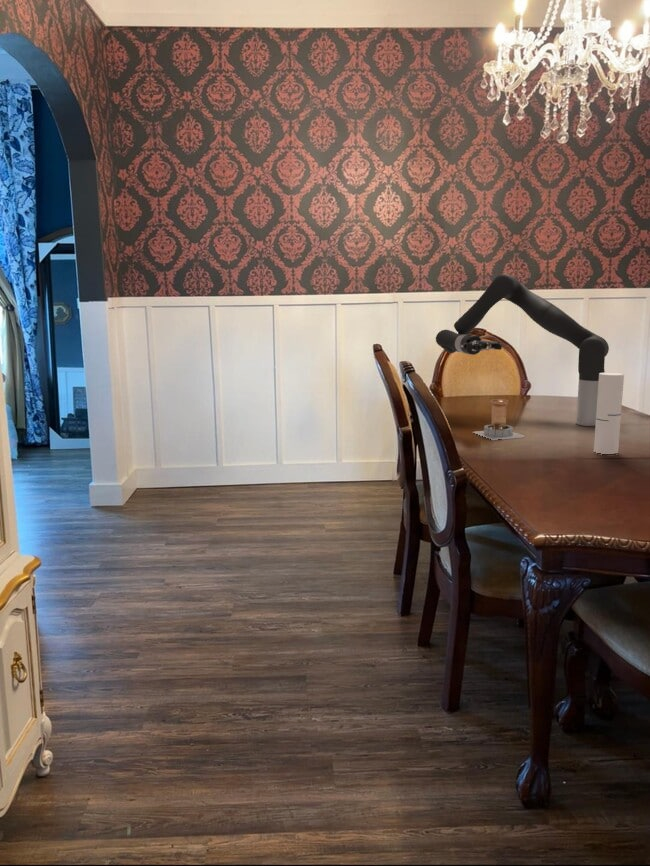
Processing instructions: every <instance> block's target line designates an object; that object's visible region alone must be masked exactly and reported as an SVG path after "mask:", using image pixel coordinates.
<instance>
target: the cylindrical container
mask: <svg viewBox="0 0 650 866" xmlns="http://www.w3.org/2000/svg"><path fill="white" fill-rule="evenodd" d="M624 379H625V374H624V373H621V372H605V373H599V383H598V398H597V412H596V426H594V427H595V429H594V442H593V453H594V452H596V453H595V454H597V453H601V454H600V455H602V454H614V453H618V454H619V444H620V443H619V442H620V433H621V420H622V419H621V416H622V407H623V405H622V404H623V394H624V393H623V391H624V382H625V380H624Z"/></svg>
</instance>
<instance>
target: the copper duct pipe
mask: <svg viewBox="0 0 650 866" xmlns="http://www.w3.org/2000/svg"><path fill="white" fill-rule="evenodd" d="M490 404H491V424H490V425H491V428H492V429H506V425H507V405H508V404H509V400H508V399H506V398H494V399H490Z"/></svg>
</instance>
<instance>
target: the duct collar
mask: <svg viewBox="0 0 650 866" xmlns="http://www.w3.org/2000/svg"><path fill="white" fill-rule="evenodd" d="M483 426H484V427H483V430H478V431H477V430H476V431H472V434H473V433H475V434H474V435H476V434H478V435H477V436H479V435H480V436H479V437H482V436H483V437H482V438H484V437H486V438H485V439H487V438H489V439H488V440H490V439H491V441H499V440H498V439H502V440H510V439H521V438H526V437H525V435H524V434H520V433H517V432H514V427H513V426H511V425H508V424H506V429H492V428H491V424H486V425H483Z"/></svg>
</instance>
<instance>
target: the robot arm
mask: <svg viewBox="0 0 650 866" xmlns="http://www.w3.org/2000/svg"><path fill="white" fill-rule="evenodd" d="M503 299H504V300H507V301H509V302H510V303H512V304H514V305H515V306H517V307H519V309H521V310H522V311H523V312H524V313H526V315H527V316H528V317H529V319H531V320H532V321H533V322H535V324H537V325H538V326H539V327H540V328H543V329H544V330H545V331H547V332H548V333H551V334H552V335H554V336H556V337H559V338H561V339H563V340H565V341H567V342H569V343H570V344H572V345H573V346H575V347H576V348H577V349H578V366H577V367H578V369H577V371H578V387H577V388H578V389H577V403H576V419H575V421H576V422H575V424H577V426H585V427H595V426H596V412H597V398H598V383H599V373H606V371H605V358H606V357H607V355H608V353H609V350H610V348H609V347H610V346H609V343H608V341H607V340H606V339H605V338H604V337H602V336H601V335H598V334H596V333H594V332H592V331H591V330H589V329H587V328H585V327H583V326H582V325H581V324H579V323H578V322H577V321H576V320H575V319H574V318H572V317H571V316H570V315H569V314H567V313H566V312H564V311H563V310H562V309H560V308H559V307H558V306H556V305H555V304H553V303H551V302H550V301H548V300H547V299H545V298H543V297H541V296H539V295H538V294H536V293H534V292H532V291H531V290H530V289H529V288H527V287H526V286H525V285H524V284H523V283H521V282H520V281H519V280H518V279H517V278H516V277H515V276H513V275H511V274H507V273H500V274H498V275H496V277H495V278H493V280H492V281H491V283H489V286H488V287H487V288H486V290H485V291H484V292H483V293H482V295H481V296H480V297H478V299H477V301H476V302H474V303H473V305H472V306H470V307H469V308H468V309H467V311H466V312H464V314H462V315H461V316H460V317H459V318H458V319H457V320H456V321H455V323H454V324H453V327H454V330H455V331H456V332H454V331H453V330H450V329H442V330H440V331H439V332H438V333H437V334H436V336H435V343H436V344H437V345H438V346H439V347H441V348H442V349H443V350H444V351H446V352H447V353H448V354H454V353H456V352H458V353H461V354H466V355H472V356H473V355H477V354H479V353H480V352H482V351H491V350H494V351H495V350H498V351H501V350H502V348H503V345H502V343H501V342H500V341H498V342H497V341H490V340H483V339H482V338H481V337H480V336H478V335H476V334H470V333H471V332H472V331H473V330H474V329H475V328H476V327H477V326H478V325H479V324H480V322H482V320H483V319H484V318H485V316H486V314H487V313H489V311H490V310H491V308H493V307H494V306H495V305H496V304H497V303H499V302H500V301H502V300H503Z"/></svg>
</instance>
